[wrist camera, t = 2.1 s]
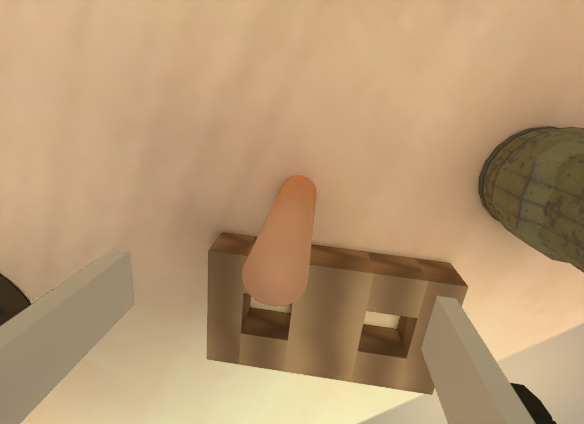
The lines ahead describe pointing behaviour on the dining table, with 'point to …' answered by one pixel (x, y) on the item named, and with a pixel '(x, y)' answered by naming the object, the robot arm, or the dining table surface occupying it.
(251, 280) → the peg
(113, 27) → the dining table surface
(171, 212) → the dining table surface
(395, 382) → the hole block
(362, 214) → the dining table surface
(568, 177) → the thermos
